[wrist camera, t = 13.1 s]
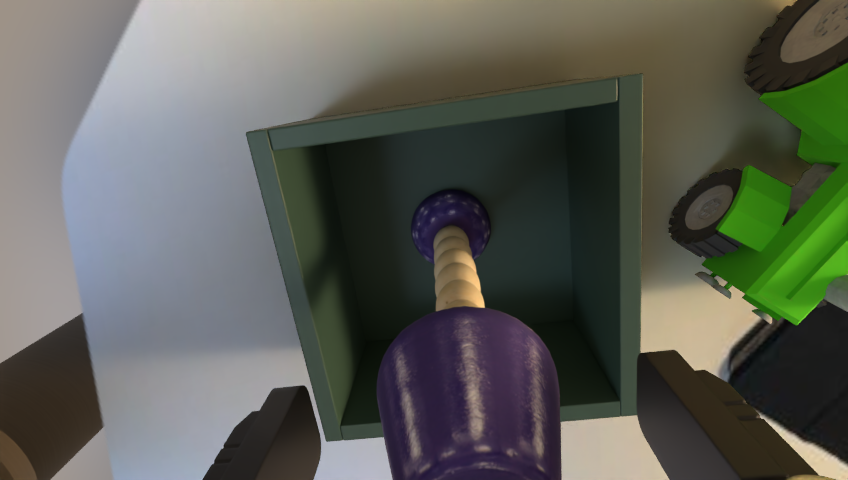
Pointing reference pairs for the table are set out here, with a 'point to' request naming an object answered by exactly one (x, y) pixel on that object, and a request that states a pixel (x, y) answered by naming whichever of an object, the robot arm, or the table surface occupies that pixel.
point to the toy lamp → (466, 369)
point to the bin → (508, 244)
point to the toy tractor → (772, 199)
